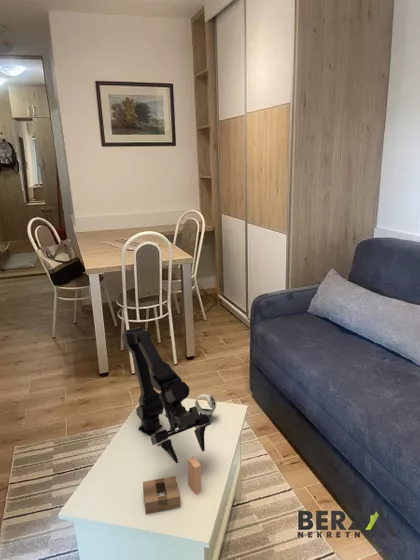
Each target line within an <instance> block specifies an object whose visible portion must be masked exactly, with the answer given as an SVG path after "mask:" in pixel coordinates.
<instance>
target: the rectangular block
mask: <svg viewBox="0 0 420 560" xmlns="http://www.w3.org/2000/svg"><path fill="white" fill-rule="evenodd" d="M187 485H188V487H189V488H190V490H191V491H192V492H193V493H194V495H197V494H199V493H201V492H202V464H200V462H199V461H198V460H197V459H196V457H194V456H190V457H188V458H187Z"/></svg>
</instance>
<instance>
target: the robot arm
mask: <svg viewBox="0 0 420 560" xmlns="http://www.w3.org/2000/svg"><path fill="white" fill-rule="evenodd" d="M121 340H122V342H123V344H124V346H125V348H126V349H127V351H129V353H130V354H131V357H132V360H133V364H134V368H135V373H136V377H137V380H138V384H139V389H140V395H139V398H138V405H139V406H138V407H137V408H136V409H135V410H136V416H137V417H138V418H139V420H140V424H141V425H140V426H139V427H138V430H139V431H140V432H143V433H145V434H146V435H148V436H151V437H150V442H151V444H152V446H155V445H156V446H157V447H160V448H162V449H163V450H164V452H166V453H167V455H169V456H170V458H171V459H172V460H173V462H175V464H178V463H179V460H178V456H177V455H176V452H175V449H174V446H173V443H172V438H170V437H172V436H175V435H177V434H180V433H182V432H184V431H188V430H190V429H193V428H195V429H194V430H193V432H194V434H195V437H196V440H197V442H198V445H199V449H200V450H201V452H205V451H206V450H205V448H206V446H205V445H206V444H205V431H206V428H207V427H209V425H208V424H207V423H209V422H211V423H212V419H211V420H210V418H209V416H208V415H207V414H204V415H202V416H199V414H200V413H199V412H198V410H197V408H196V406H192V407H190V408H189V410H187V409H186V407H185V405H184V406H183V401H185V400H186V399H187V398H188V396H189V395H190V386H189V385H188V384H187V383H186V382H185V381H183V380H182V378H181V377H180V376H179V375H178V374H177V373H176V371H174V370H173V368H172V367H171V365H170V364H169V363H168V362H166V361H164V360H163V359H162V357H161V355H160V353H159V352H158V349H157V347H156V346H155V343H154V342H153V340H152V337H151V333H150V331H148V329H147V328H142V327H141V326H138V327H137V326H136V327H134V328H129V329H125V330H124V331H123V333H122V334H121ZM157 391H158V392H157ZM164 412H165V415H164V416H165V418H167V421H168V424H169V430H167V429H163V430H161V431H159V430H160V429H162V428H163V425H162V424H161V421H160V415H162V414H164ZM206 424H207V425H206ZM169 438H170V439H169Z"/></svg>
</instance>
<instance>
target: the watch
mask: <svg viewBox="0 0 420 560" xmlns="http://www.w3.org/2000/svg"><path fill="white" fill-rule="evenodd" d="M199 399H205V400H206V401H207V404H208V406H209V408H202V407H201V405H200V404H199V401H198V400H199ZM194 405H195V407H196V408H197V410H198V412H199V416H202V415H204V414H207V415H208V416H209V418H210V420H211V422H209V423H207V424H208V426H210V425H211V423H212V419H213V414H214V412H215V410H216V408H217V401H216V399H215V397H214V396H213V395H212V394H209V393H201V394H199V395H198V396H197V397H196V400H195V402H194ZM207 424H206V425H207Z"/></svg>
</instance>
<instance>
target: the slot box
mask: <svg viewBox="0 0 420 560" xmlns="http://www.w3.org/2000/svg"><path fill="white" fill-rule="evenodd" d="M142 492H143V500H144V502H143V503H144V509H145V515H148V514H153V513H158V512H162V511H163V512H164V511H167V510H174V509H178V508H181V495H180V490H179V486H178V481H177V477H176V475H173V476H168V477H162V478H161V477H160V478H157V479H151V480H146V481H142ZM163 493H164V495H158V494H163Z"/></svg>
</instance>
